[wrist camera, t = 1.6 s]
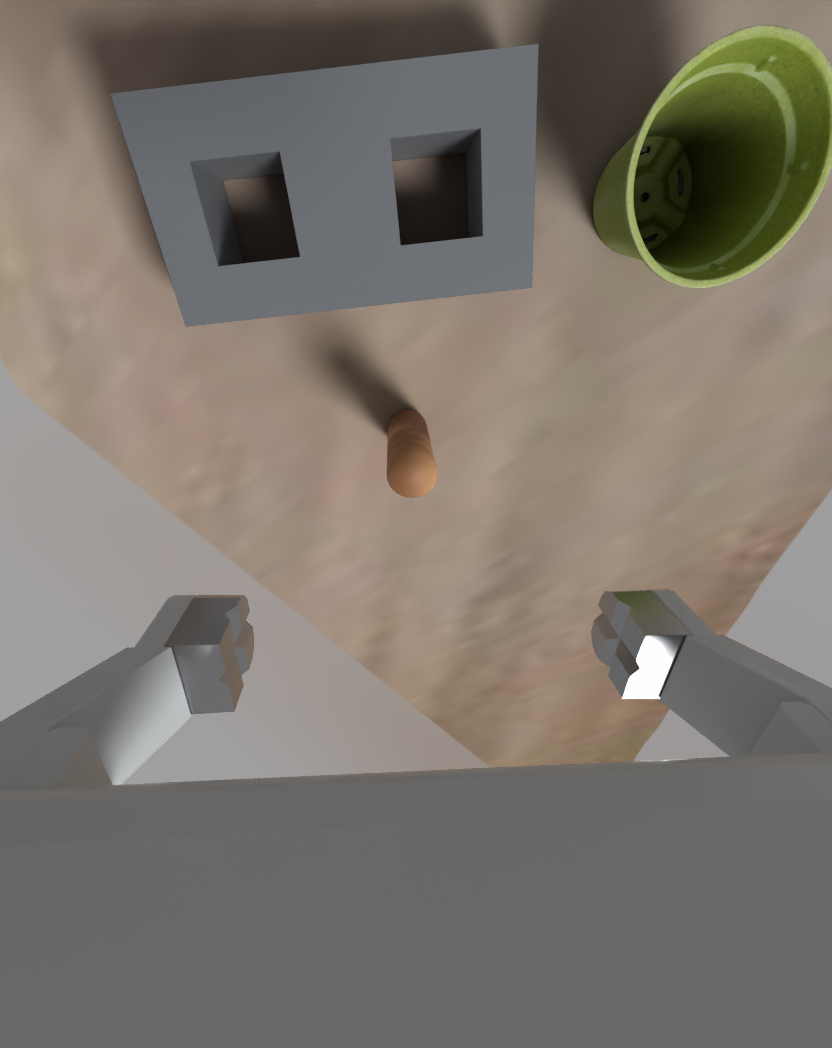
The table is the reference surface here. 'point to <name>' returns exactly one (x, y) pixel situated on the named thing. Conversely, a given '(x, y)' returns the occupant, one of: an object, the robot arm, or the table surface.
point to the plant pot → (723, 160)
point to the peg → (410, 455)
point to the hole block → (339, 180)
